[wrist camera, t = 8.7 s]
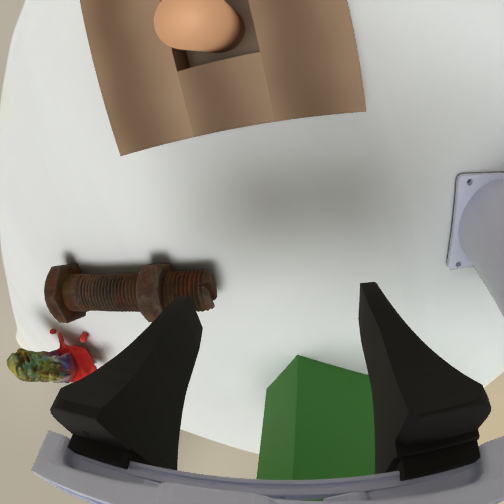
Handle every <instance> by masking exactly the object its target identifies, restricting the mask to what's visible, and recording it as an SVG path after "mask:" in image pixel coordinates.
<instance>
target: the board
mask: <svg viewBox="0 0 504 504" xmlns="http://www.w3.org/2000/svg"><path fill="white" fill-rule="evenodd" d="M161 1H162V0H80V3H81V9H82V14H83V19H84V23H85V28H86V33H87V37H88V42H89V46H90V50H91V54H92V59H93V63H94V67H95V71H96V74H97V78H98V82H99V86H100V89H101V93H102V97H103V100H104V104H105V107H106V111H107V114H108V117H109V121H110V124H111V127H112V130H113V134H114V137H115V140H116V143H117V146H118V149H119V152H120V155H121V156H123V155H127V154H130V153H133V152H137V151H140V150H144V149H148V148H151V147H155V146H159V145H163V144H167V143H171V142H175V141H179V140H183V139H187V138H191V137H196V136H200V135H205V134H210V133H214V132H219V131H224V130H229V129H234V128H240V127H245V126H251V125H257V124H263V123H269V122H275V121H282V120H289V119H296V118H304V117H312V116H321V115H331V114H341V113H353V112H366V106H365V98H364V90H363V83H362V76H361V70H360V63H359V57H358V52H357V46H356V41H355V35H354V30H353V25H352V21H351V16H350V11H349V7H348V3H347V0H224V1H225V2H226V3H227V4H229V5H230V6H231V7H232V8H233V9H234V10H235V11H236V12H237V13H238V14H239V15H240V16H241V17H242V19H243V21H244V24H245V34H244V37H243V39H242V41H241V42H240V43H239V44H238V45H237V46H236V47H235V48H234V49H232V50H230V51H227V52H224V53H211V52H202V51H192V50H181V49H175V48H172V47H170V46H168V45H166V44H165V43H164V42H163V41H162V40H160V38H159V37H158V35H157V33H156V31H155V28H154V15H155V11H156V9H157V7H158V5H159V3H160V2H161Z"/></svg>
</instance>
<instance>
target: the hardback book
mask: <svg viewBox="0 0 504 504" xmlns="http://www.w3.org/2000/svg"><path fill="white" fill-rule="evenodd" d="M374 474H375V430H374V412H373V399H372V390H371V384H370V379H369V375H365V374H362V373H358V372H354V371H351V370H347V369H343V368H340V367H336V366H333V365H329V364H326V363H323V362H319V361H316V360H312V359H309V358H306V357H303V356H299V355H297V356H296V358H295V359H294V360H293V361H292V362H291V363H290V364H289V365H288V366H287V368H286V369H285V370H284V371H283V372H282V373H281V374H280V375H279V376H278V377H277V379H276V380H275V381H274V382H273V383H272V384H271V385H270V386H269V387H268V388H267V391H266V400H265V410H264V419H263V428H262V437H261V445H260V454H259V463H258V472H257V479H261V480H317V479H335V478H347V477H357V476H366V475H374ZM323 500H324V499H313V500H299V501H323Z"/></svg>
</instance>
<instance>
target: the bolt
mask: <svg viewBox="0 0 504 504" xmlns="http://www.w3.org/2000/svg"><path fill="white" fill-rule="evenodd" d="M44 294H45V301H46V305H47V307H48V309H49V311H50V312H51V314H52V315H53V316H54V318H55V319H56V320H57V321H58V322H62V323H69V322H71V321H74V320H76V319H79V318H81V317H84V316H86V312H87V311H90V310H92V311H93V310H94V311H95V310H97V311H121V312H123V311H125V312H126V311H129V312H130V311H132V312H133V311H135V312H141V314H142V315H143V316H144V317H145V318H146V319H147V320H148V322H153V321H154V320H155V319H156V318H157V317H158V316H159V315H160V314H161V313H162V311H163V310H164V309H165V308H166V307H167V306H168V305H169V304H170V303H171V302H172V301H173V300H174V299H175V298H176V297H177V296H187V295H190V297H191V300H192V303H193V305H194V308H195V310H196V311H198V312H199V311H202V312H203V311H205V310H207V311H208V310H209V309H213V308H214V307H215V306H214V303H213V300H215V299H216V298H217V290H216V286H215V281H214V277H213V276H212V274H210V273H209V271H208V270H205V271H204V270H201V271H200V270H197V271H196V270H193V271H191V270H190V271H187V270H186V271H177V272H176V271H174V270H173V268H172V267H171V266H170V265H169V264H168V263H160V264H149V265H145V266H143V267H142V268H141V270H140V272H139V273H137V272H136V273H115V274H82V272H81V270H80V268H79V266H78V264H67V265H60V266H54V267H51V269H50V271H49V273H48V275H47V278H46V281H45V287H44Z"/></svg>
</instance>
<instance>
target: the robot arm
mask: <svg viewBox="0 0 504 504" xmlns="http://www.w3.org/2000/svg"><path fill="white" fill-rule="evenodd" d="M468 179H470V182H469V183H467V180H468ZM457 262H459V263H458V264H456V263H457ZM447 266H448V268H449V269H450V270H454V269H461V268H467V267H474V268H475V269H476V271H477V273H478V274H479V276H480V277H481V279H482V280H483V282H484V284H485V285H486V287H487V289H488V290H489V292H490V294H491V295H492V297H493V299H494V300H495V302H496V304H497V306H498V307H499V309H500V311H501V313H502V314H503V316H504V172H501V173H470V174H460V175H459V176H458V177H457V180H456V193H455V205H454V215H453V224H452V232H451V239H450V246H449V252H448V259H447ZM359 327H360V336H361V342H362V347H363V351H364V356H365V360H366V365H367V369H368V374H369V379H370V384H371V390H372V399H373V412H374V430H375V474H374V475H366V476H357V477H347V478H335V479H317V480H261V479H243V478H229V477H219V476H211V475H203V474H196V473H189V472H182V471H177V459H178V444H179V443H178V442H179V433H180V425H181V418H182V411H183V406H184V400H185V395H186V391H187V387H188V384H189V381H190V378H191V374H192V371H193V368H194V365H195V361H196V358H197V355H198V351H199V348H200V342H201V336H202V329H203V328H202V325H201V323H200V320H199V318H198V315H197V313H196V310H195V308H194V305H193V303H192V300H191V297H190V295H187V296H177V297H176V298H175V299H174V300H173V301H172V302H171V303H170V304H169V305H168V306H167V307H166V308H165V309H164V310H163V311H162V313H161V314H160V315H159V316H158V317H157V318H156V319H155V320H154V321H153V322H152V323H151V324H150V325H149V327H148V328H147V329H146V330H144V331H143V332H142V333H141V334H140V335H139V336H138V337H137V338H136V339H135V340H134V341H133V342H132V343H131V344H130V345H129V346H128V347H127V348H125V349H124V350H123V351H122V352H121V353H119V354H118V355H117V356H116V357H114V358H113V359H111V360H110V361H109V362H107V363H106V364H104V365H103V366H102V367H100V368H99V369H97V370H95V371H94V372H92V373H91V374H89V375H87V376H85V377H83V378H82V379H80V380H78V381H76V382H74V383H71V384H69V385H67V386H65V387H63V388H61V389H60V391H59V393H58V395H57V397H56V399H55V401H54V403H53V405H52V407H51V409H50V411H51V414H52V415H53V417H54V418H55V419H56V420H57V421H58V422H59V423H60V424H62V425H63V426H64V427H65V428H66V429H67V430H69V431H70V432H71V433H72V434H73V435H72V437H71V439H70V438H68V437H66V436H64V435H61V434H59V433H56V432H53V431H51V430H50V431H48V433H47V435H46V438H45V440H44V442H43V444H42V447H41V449H40V451H39V454H38V456H37V458H36V460H35V463H34V465H33V468H32V473H34V474H36V475H37V476H39V477H40V478H42V479H44V480H46V481H47V482H49V483H50V484H52V485H54V486H56V487H57V488H59V489H61V490H63V491H65V492H67V493H69V494H71V495H74V496H76V497H78V498H80V499H83V500H85V501H87V502H90V503H92V504H498V503H500V502H502V501H503V500H504V436H503V437H500V438H497V439H494V440H491V441H489V442H486V443H484V444H482V445H480V446H479V447H478V443H477V440H478V439H479V432H478V428H479V427H480V426H481V424H482V423H483V422H484V420H486V418H487V417H488V415H489V414H490V412H491V405H490V402H489V399H488V396H487V394H486V392H485V390H484V388H483V385H481V384H480V383H478V382H476V381H474V380H473V379H471V378H469V377H467V376H466V375H464V374H462V373H461V372H460V371H458V370H457V369H455V368H454V367H452V366H451V365H450V364H448V363H447V362H446V361H445V360H443V359H442V358H441V357H439V356H438V355H437V354H436V353H435V352H434V351H432V350H431V349H430V348H429V347H428V346H427V345H426V344H425V343H424V342H423V341H422V340H421V339H420V338H419V337H418V336H417V335H416V334H415V333H414V332H413V331H412V330H411V328H410V327H409V326H408V325H407V324H406V323H405V321H404V320H403V319H402V318H401V317H400V315H399V314H398V313H397V312H396V310H395V309H394V308H393V306H392V305H391V304H390V302H389V301H388V300H387V298H386V297H385V295H384V294H383V292H382V291H381V289H380V288H379V286H378V285H377V283H375V282H369V283H360V301H359ZM313 499H324V500H323V501H299V500H313Z"/></svg>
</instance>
